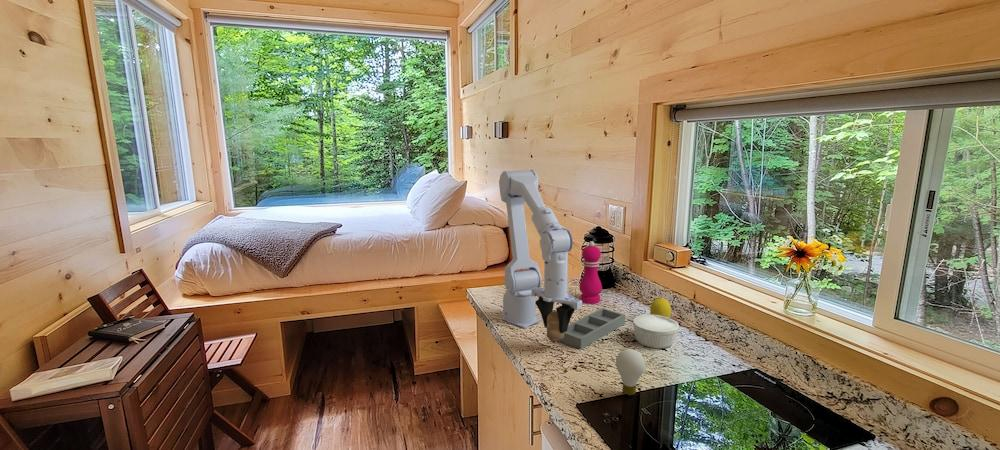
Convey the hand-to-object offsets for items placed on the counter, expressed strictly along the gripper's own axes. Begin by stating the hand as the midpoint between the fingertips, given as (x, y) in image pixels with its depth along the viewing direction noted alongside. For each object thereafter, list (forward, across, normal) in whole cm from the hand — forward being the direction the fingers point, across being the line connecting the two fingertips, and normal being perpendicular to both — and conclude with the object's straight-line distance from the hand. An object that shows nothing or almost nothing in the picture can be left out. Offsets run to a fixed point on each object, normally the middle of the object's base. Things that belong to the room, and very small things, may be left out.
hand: (555, 328), depth 114 cm
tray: (+6, +1, +15) cm, 16 cm away
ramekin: (+6, +16, +22) cm, 27 cm away
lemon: (+6, +12, +32) cm, 35 cm away
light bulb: (+6, +24, -6) cm, 25 cm away
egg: (+2, 0, 0) cm, 2 cm away
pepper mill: (+6, -13, +34) cm, 37 cm away
